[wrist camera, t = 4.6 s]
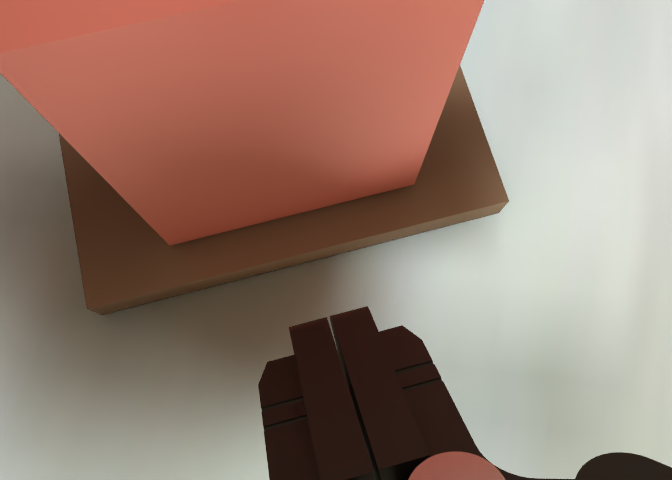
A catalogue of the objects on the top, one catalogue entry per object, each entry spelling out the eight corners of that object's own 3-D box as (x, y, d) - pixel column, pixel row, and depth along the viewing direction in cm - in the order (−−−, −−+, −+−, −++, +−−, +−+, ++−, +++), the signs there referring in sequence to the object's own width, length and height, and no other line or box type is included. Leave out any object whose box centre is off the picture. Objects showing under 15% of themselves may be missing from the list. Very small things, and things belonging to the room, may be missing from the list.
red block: (414, 184, 16) (507, -59, 8) (170, 245, 15) (-16, 56, 7) (352, -9, 17) (373, -384, 9) (128, 41, 17) (-64, -308, 9)
